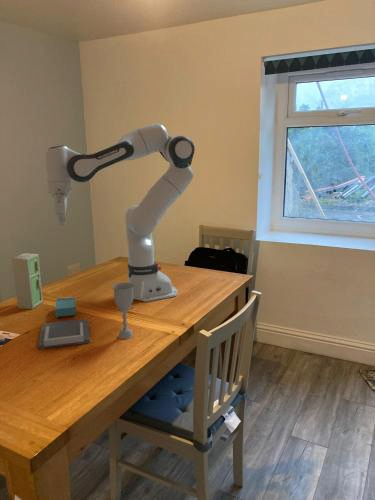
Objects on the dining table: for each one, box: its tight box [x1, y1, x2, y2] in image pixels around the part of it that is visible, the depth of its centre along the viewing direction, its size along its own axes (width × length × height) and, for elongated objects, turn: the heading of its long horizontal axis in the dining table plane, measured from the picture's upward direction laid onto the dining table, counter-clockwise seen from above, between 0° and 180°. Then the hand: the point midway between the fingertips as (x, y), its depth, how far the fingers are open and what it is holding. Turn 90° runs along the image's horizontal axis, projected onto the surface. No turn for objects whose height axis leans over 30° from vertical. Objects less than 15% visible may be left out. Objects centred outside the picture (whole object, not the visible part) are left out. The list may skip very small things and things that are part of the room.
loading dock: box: [37, 318, 91, 350], centre depth 135 cm, size 16×21×4 cm
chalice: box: [112, 282, 134, 340], centre depth 131 cm, size 7×7×18 cm
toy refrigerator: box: [12, 252, 44, 310], centre depth 157 cm, size 8×7×21 cm
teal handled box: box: [54, 296, 77, 320], centre depth 151 cm, size 7×10×5 cm
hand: (62, 223), depth 156 cm, fingers open, 8 cm apart
